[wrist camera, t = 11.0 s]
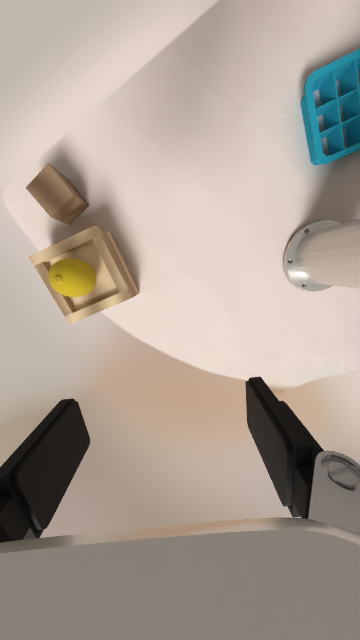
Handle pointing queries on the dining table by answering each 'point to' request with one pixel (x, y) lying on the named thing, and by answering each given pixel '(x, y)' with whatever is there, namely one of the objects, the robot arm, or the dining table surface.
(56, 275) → the lemon
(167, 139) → the dining table surface
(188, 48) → the dining table surface
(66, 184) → the walnut cube
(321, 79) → the ice cube tray
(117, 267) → the oak tray
